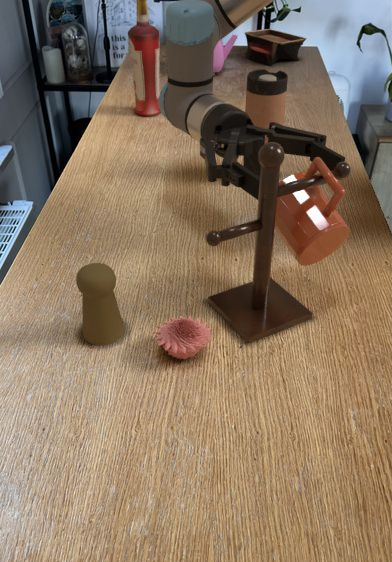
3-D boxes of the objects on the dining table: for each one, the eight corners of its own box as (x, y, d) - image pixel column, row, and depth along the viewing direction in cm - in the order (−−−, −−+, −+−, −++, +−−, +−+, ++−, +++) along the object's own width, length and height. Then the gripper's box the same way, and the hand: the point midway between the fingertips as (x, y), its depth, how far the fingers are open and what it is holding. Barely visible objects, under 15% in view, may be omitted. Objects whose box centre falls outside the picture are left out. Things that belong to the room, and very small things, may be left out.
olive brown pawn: (123, 318, 86) (116, 254, 79) (127, 345, 82) (119, 279, 74) (82, 323, 85) (70, 258, 78) (83, 350, 81) (71, 284, 74)
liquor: (130, 111, 150) (120, -16, 132) (157, 107, 152) (151, -19, 134) (139, 121, 145) (129, -10, 126) (167, 117, 147) (161, -13, 128)
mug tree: (306, 269, 95) (328, 109, 78) (351, 305, 88) (387, 136, 71) (187, 311, 87) (183, 142, 70) (226, 354, 80) (233, 177, 63)
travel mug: (252, 189, 117) (259, 83, 104) (235, 173, 122) (239, 71, 109) (286, 181, 119) (296, 78, 106) (267, 167, 125) (275, 66, 111)
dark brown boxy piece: (275, 57, 192) (272, 23, 186) (312, 61, 179) (310, 24, 173) (239, 68, 187) (236, 33, 181) (275, 73, 174) (272, 36, 168)
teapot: (166, 78, 170) (164, 30, 161) (171, 65, 179) (169, 19, 171) (235, 79, 169) (237, 30, 160) (236, 66, 178) (238, 19, 169)
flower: (217, 339, 82) (218, 307, 79) (205, 378, 77) (205, 346, 73) (163, 331, 84) (161, 300, 80) (147, 369, 78) (144, 337, 74)
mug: (290, 271, 83) (254, 218, 86) (333, 257, 86) (297, 206, 90) (328, 211, 72) (286, 153, 75) (377, 196, 76) (334, 142, 79)
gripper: (282, 135, 100) (367, 183, 86) (151, 167, 91) (223, 226, 77) (286, 89, 95) (377, 132, 81) (148, 118, 86) (224, 172, 72)
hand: (302, 178), depth 79 cm, fingers open, 13 cm apart
